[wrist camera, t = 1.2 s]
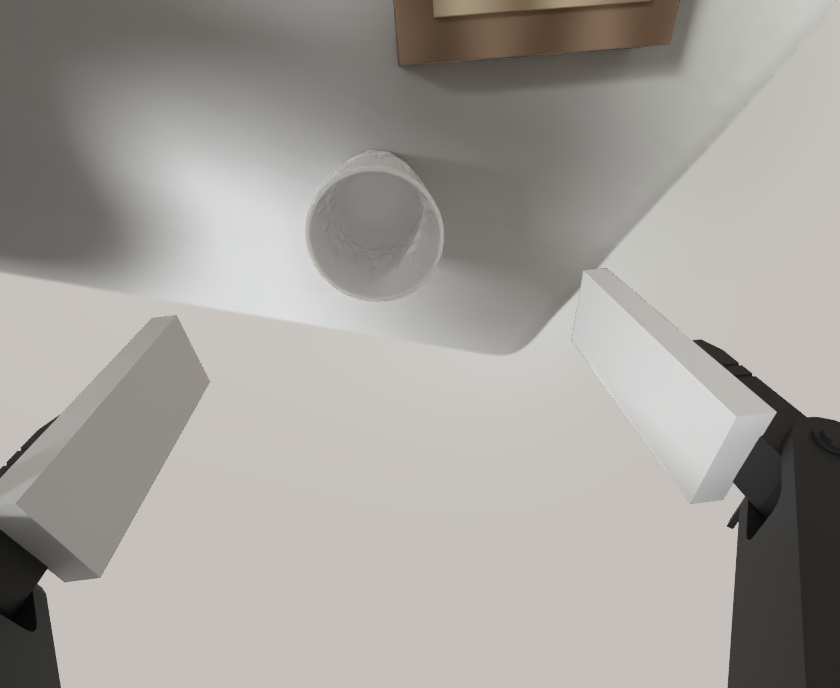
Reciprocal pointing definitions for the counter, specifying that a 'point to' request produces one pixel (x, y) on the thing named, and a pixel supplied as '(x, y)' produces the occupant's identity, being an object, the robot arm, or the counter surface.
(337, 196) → the white cup
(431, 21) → the walnut riser
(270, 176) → the counter surface
